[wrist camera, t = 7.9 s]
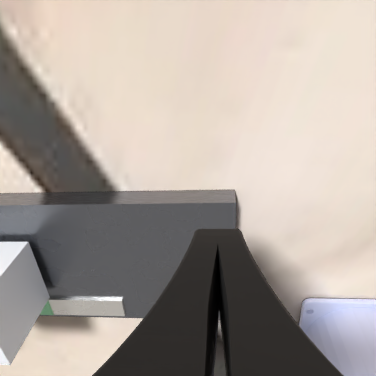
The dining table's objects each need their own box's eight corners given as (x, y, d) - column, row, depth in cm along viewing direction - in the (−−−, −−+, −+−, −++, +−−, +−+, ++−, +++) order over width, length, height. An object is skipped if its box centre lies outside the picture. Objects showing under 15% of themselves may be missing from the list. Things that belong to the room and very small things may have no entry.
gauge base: (234, 189, 19) (244, 280, 13) (233, 303, 24) (239, 411, 18) (-118, 195, 22) (-262, 274, 15) (-56, 298, 27) (-144, 391, 20)
